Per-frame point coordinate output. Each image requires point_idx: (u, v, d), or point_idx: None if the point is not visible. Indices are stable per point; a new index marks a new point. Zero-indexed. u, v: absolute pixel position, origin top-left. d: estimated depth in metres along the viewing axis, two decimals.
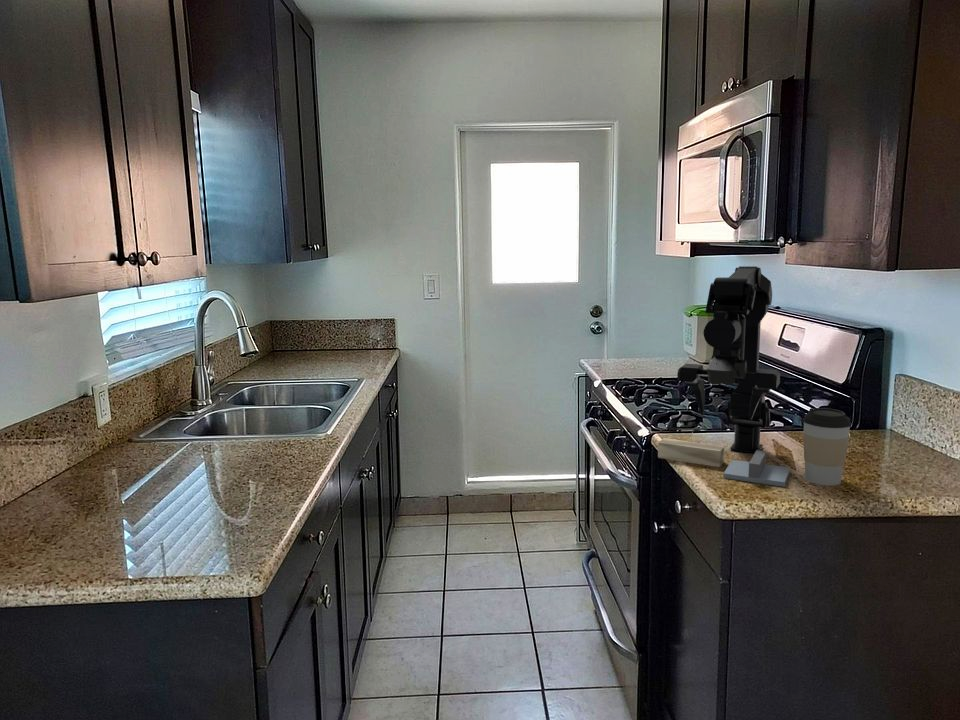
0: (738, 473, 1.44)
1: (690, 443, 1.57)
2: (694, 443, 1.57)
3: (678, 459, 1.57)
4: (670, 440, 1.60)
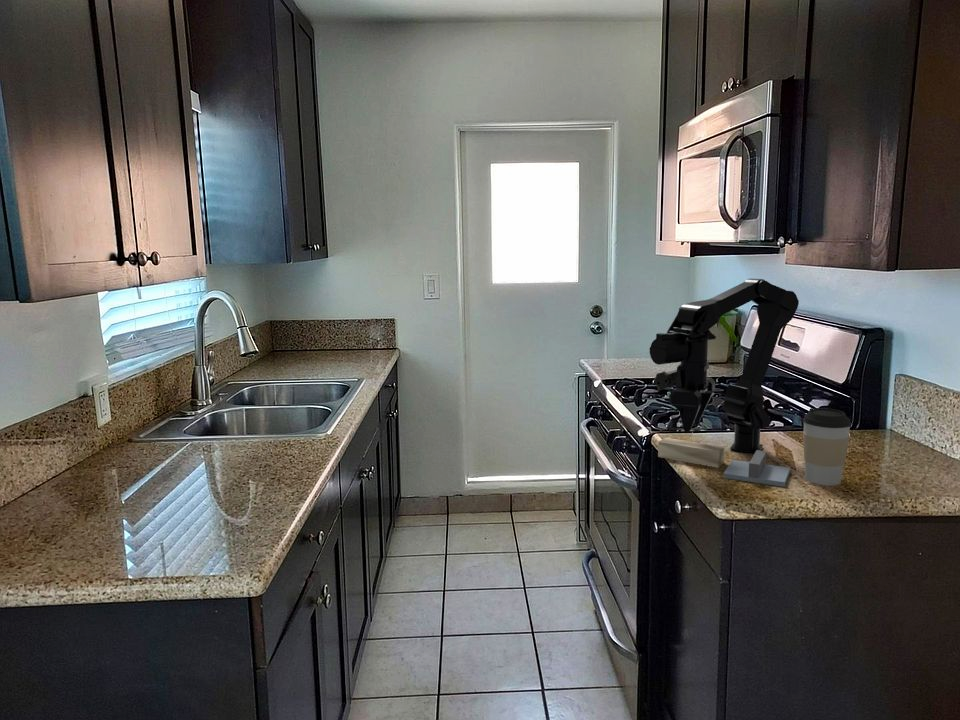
0: (738, 473, 1.44)
1: (690, 443, 1.57)
2: (694, 443, 1.57)
3: (678, 459, 1.57)
4: (671, 440, 1.60)
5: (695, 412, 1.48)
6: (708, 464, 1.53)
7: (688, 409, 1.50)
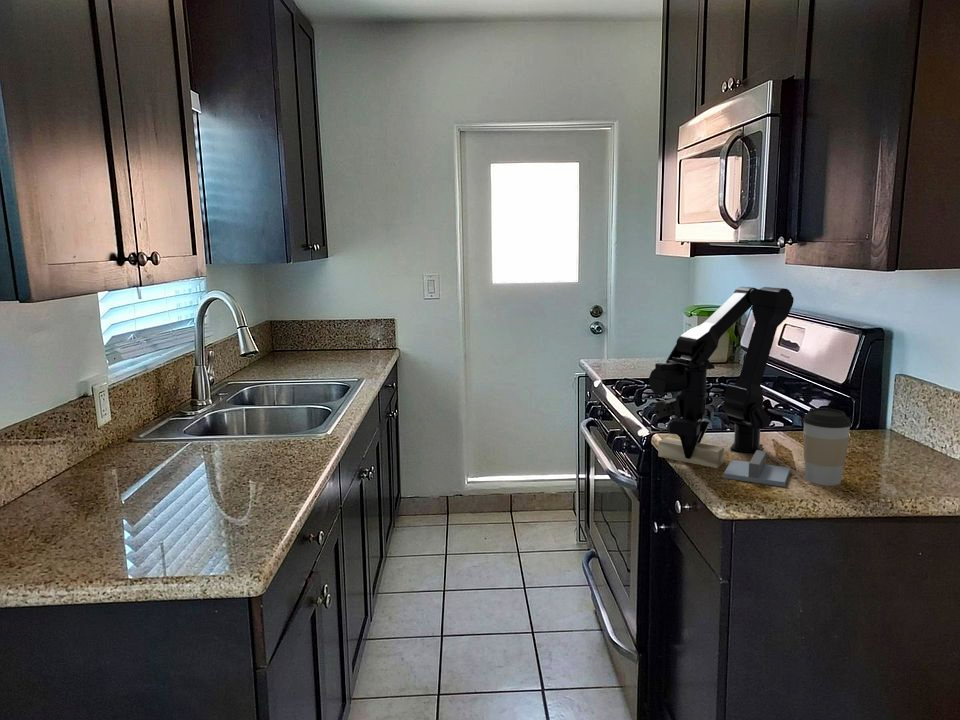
0: (738, 473, 1.44)
1: None
2: None
3: (677, 458, 1.57)
4: (672, 439, 1.60)
5: (696, 439, 1.51)
6: (707, 464, 1.52)
7: (689, 436, 1.53)
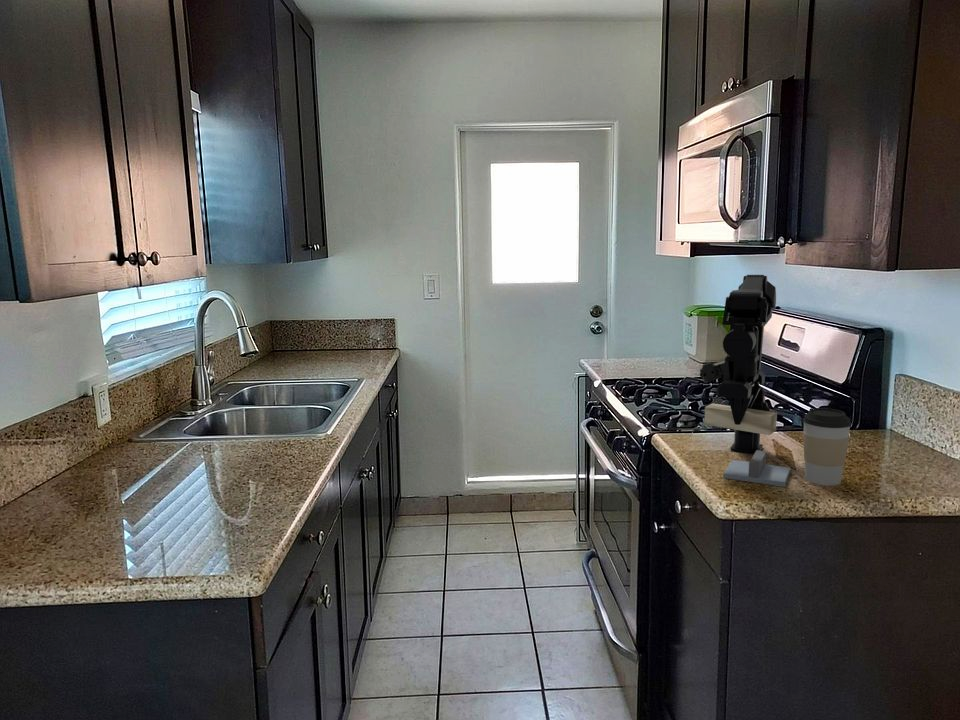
0: (738, 473, 1.44)
1: None
2: None
3: (725, 425, 1.47)
4: (719, 405, 1.51)
5: (747, 403, 1.42)
6: (759, 430, 1.43)
7: (739, 400, 1.43)
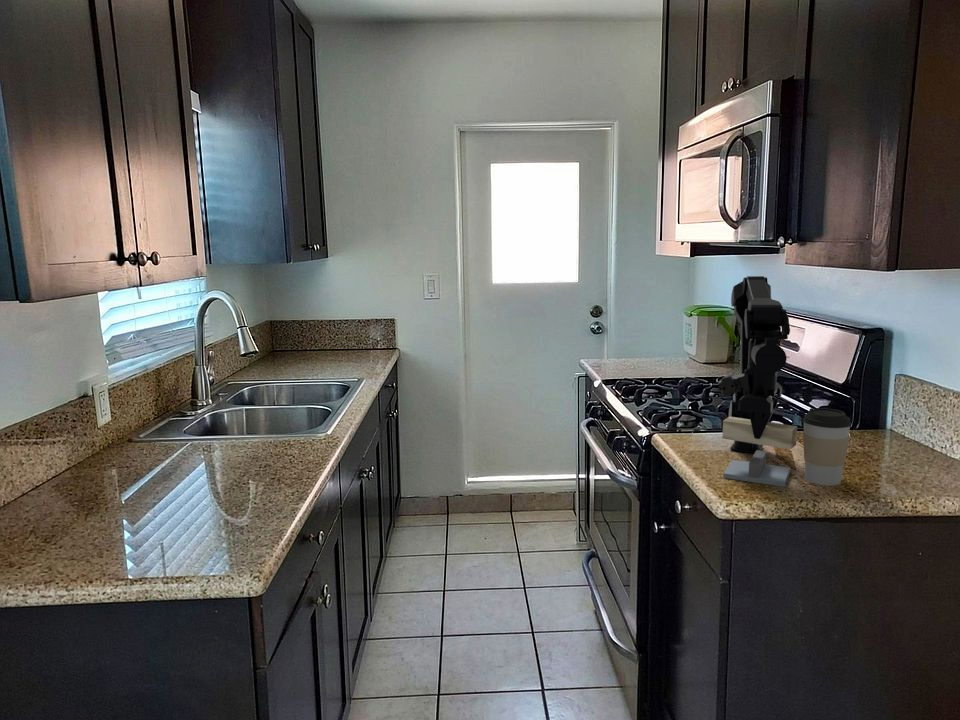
0: (738, 473, 1.44)
1: None
2: None
3: (745, 439, 1.45)
4: (737, 419, 1.48)
5: (767, 417, 1.39)
6: (779, 444, 1.40)
7: (760, 414, 1.41)
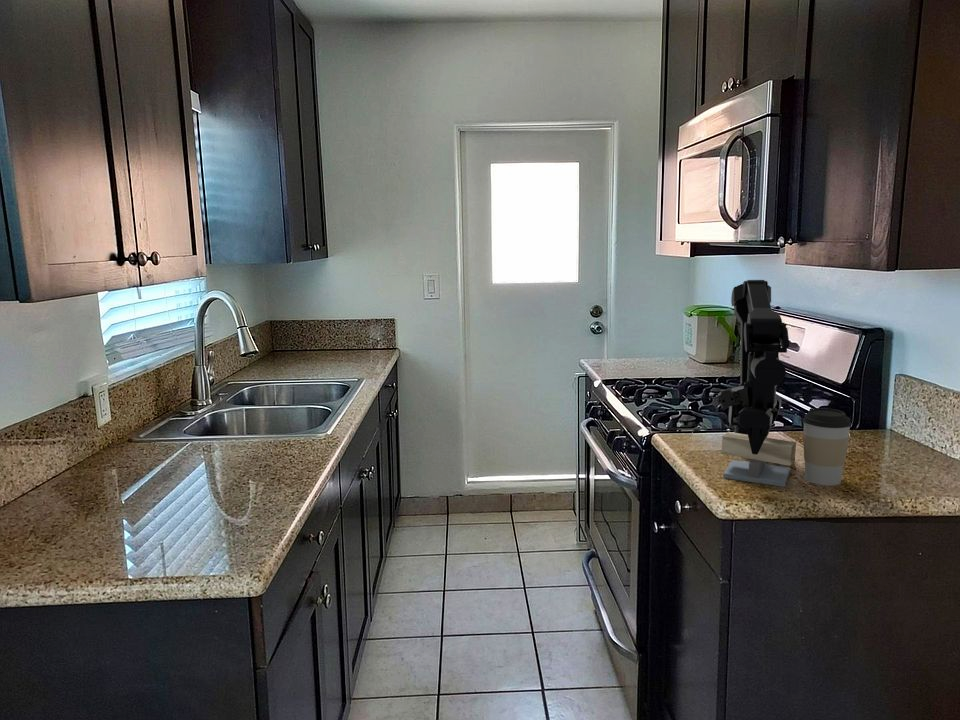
0: (738, 473, 1.44)
1: None
2: None
3: (744, 454, 1.45)
4: (736, 434, 1.49)
5: (765, 433, 1.38)
6: (779, 460, 1.41)
7: (758, 429, 1.39)
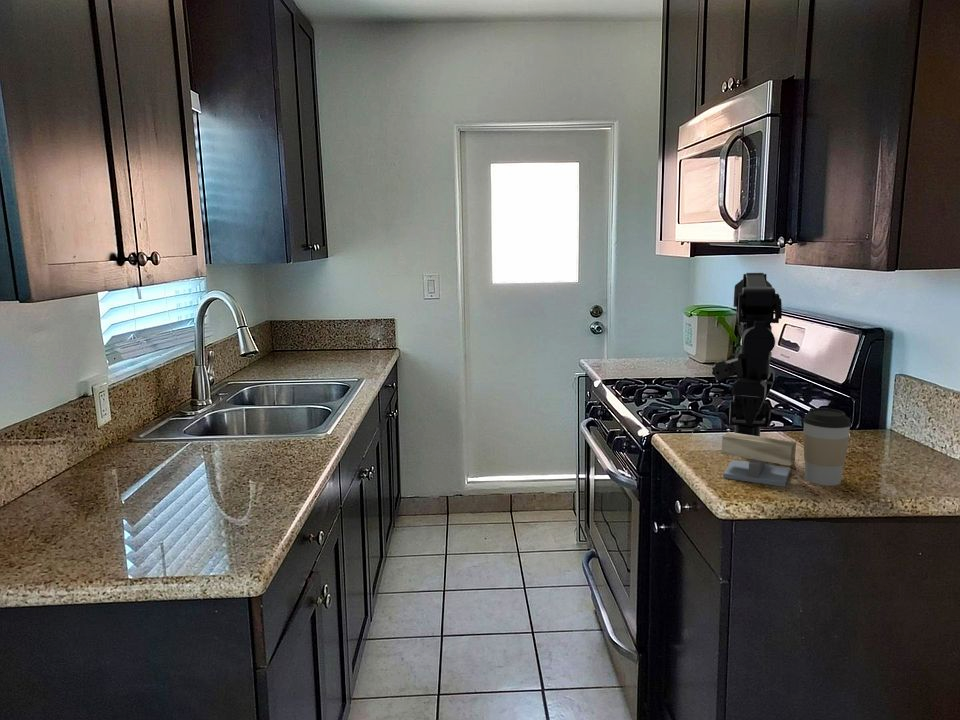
0: (738, 473, 1.44)
1: (758, 438, 1.46)
2: (762, 438, 1.45)
3: (744, 454, 1.45)
4: (736, 434, 1.49)
5: (760, 404, 1.38)
6: (779, 460, 1.41)
7: (752, 400, 1.39)
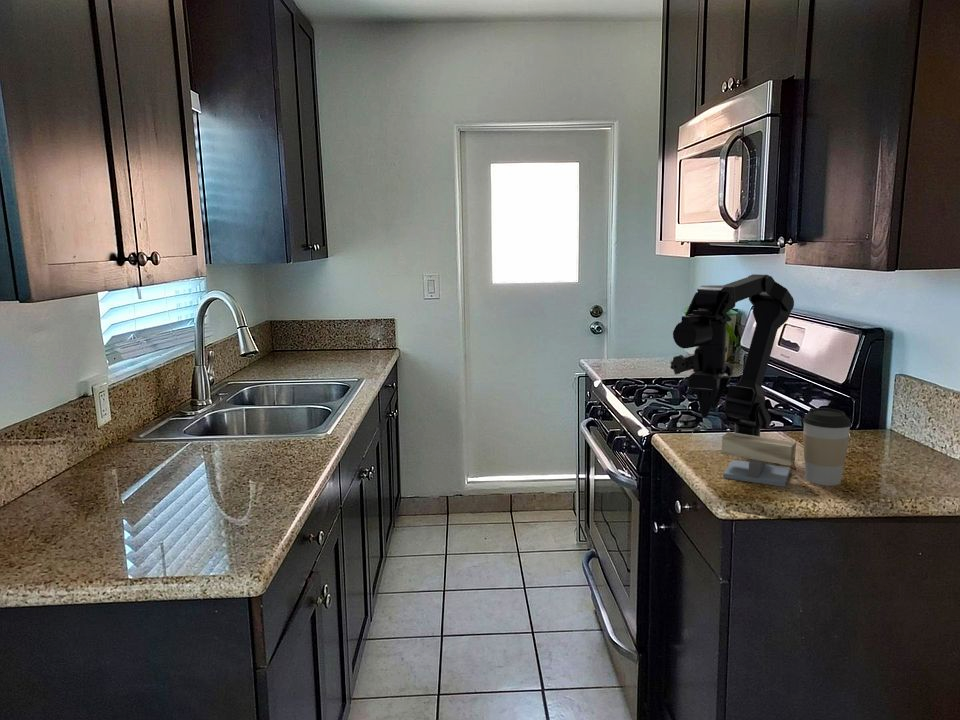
0: (738, 473, 1.44)
1: (758, 438, 1.46)
2: (762, 438, 1.45)
3: (744, 454, 1.45)
4: (736, 434, 1.49)
5: (713, 396, 1.45)
6: (779, 460, 1.41)
7: (706, 393, 1.46)
